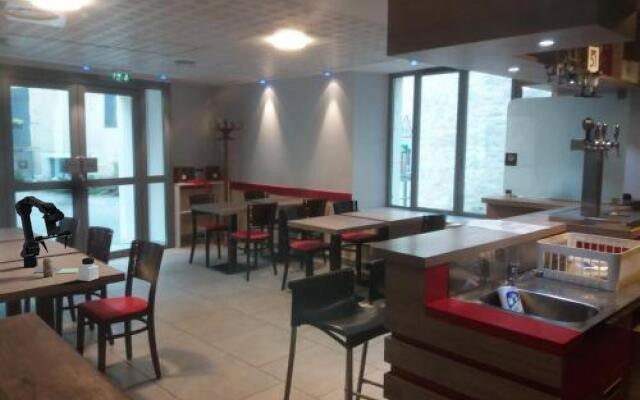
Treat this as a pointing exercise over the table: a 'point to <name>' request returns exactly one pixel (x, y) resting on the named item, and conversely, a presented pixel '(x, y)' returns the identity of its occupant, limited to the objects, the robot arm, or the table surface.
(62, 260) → the table surface
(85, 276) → the medicine bottle
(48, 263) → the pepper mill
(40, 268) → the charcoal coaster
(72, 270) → the sage coaster
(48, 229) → the robot arm
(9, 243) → the table surface
